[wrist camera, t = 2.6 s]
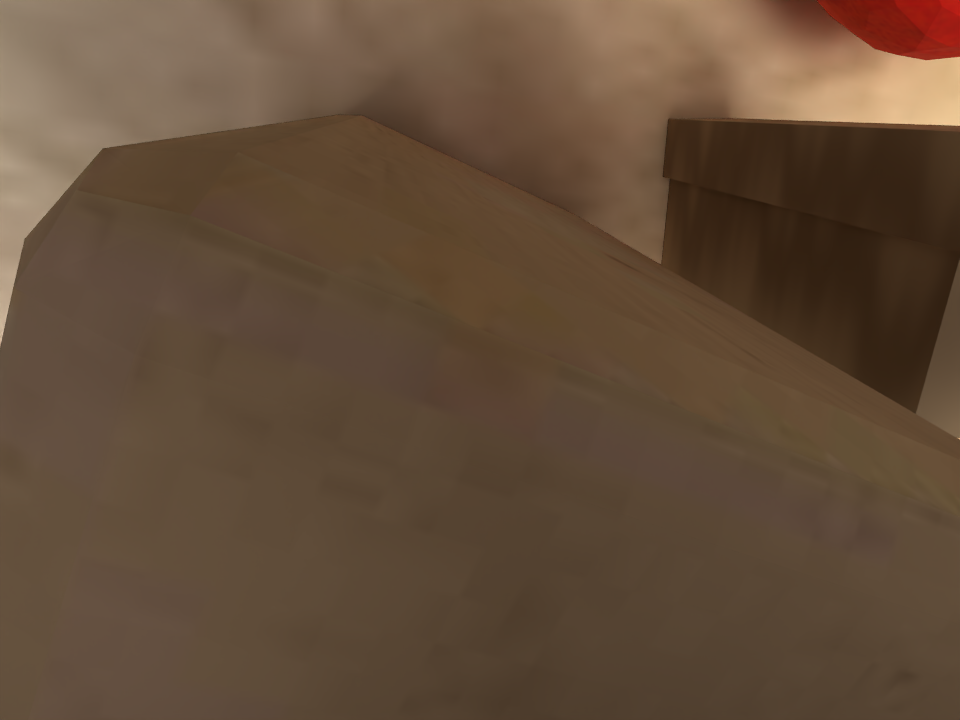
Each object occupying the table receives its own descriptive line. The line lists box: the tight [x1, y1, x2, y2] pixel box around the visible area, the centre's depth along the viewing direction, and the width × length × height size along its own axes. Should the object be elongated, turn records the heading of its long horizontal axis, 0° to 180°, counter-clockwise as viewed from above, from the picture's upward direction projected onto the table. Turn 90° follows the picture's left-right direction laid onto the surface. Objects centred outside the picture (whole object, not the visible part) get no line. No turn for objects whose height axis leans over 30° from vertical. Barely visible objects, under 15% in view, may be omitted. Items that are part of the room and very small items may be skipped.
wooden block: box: [0, 115, 960, 720], centre depth 15 cm, size 10×10×20 cm
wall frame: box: [662, 118, 960, 438], centre depth 22 cm, size 34×2×15 cm, turn 0°
